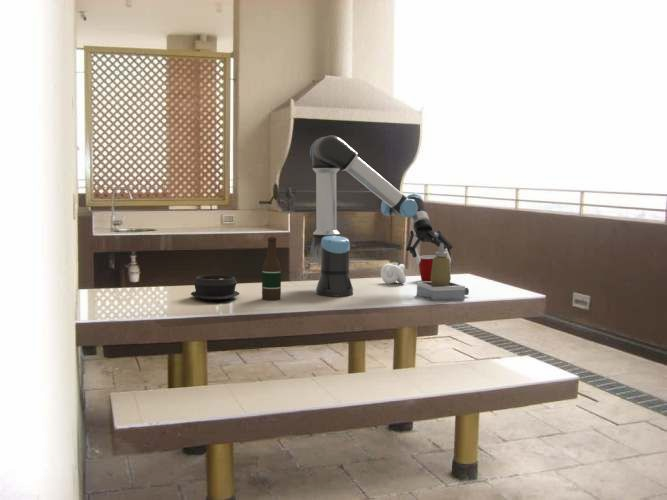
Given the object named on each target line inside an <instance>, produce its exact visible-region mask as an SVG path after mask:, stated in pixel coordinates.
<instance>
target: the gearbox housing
mask: <svg viewBox="0 0 667 500" xmlns="http://www.w3.org/2000/svg"><path fill="white" fill-rule="evenodd" d="M416 282H417V283H416V296H419V297H421V298H424V299H425V300H426V299H427V300H429V301H432V302H438V301H439V302H441V301H465V296H467V295H469V293H470V290H469V288H468V287H466V285H465V286H464V285H463V284H459V283H456V282H452V281H450V282H449V285H448V286H433V285H432V282H431V281H416Z"/></svg>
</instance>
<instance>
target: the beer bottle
mask: <svg viewBox="0 0 667 500" xmlns="http://www.w3.org/2000/svg"><path fill="white" fill-rule="evenodd" d="M266 241H267V251H266V252H267V255H266V258H265V259H264V261H263V264H262V269H261V273H262V275H261V279H262V280H261V282H262V283H261V299H262V300H263V301H279V300H281V296H282V295H281V294H282V291H281V290H282V282H281V281H282V267H281V266H282V265H281V263H280V261H279V259H278V255H277V241H278V239H277V237H275V236H269V237H267V240H266Z"/></svg>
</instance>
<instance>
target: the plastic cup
mask: <svg viewBox="0 0 667 500" xmlns="http://www.w3.org/2000/svg"><path fill="white" fill-rule="evenodd" d="M419 257H420V260H421V261H420V263H419V265H418V267H419V268H418V269H419V273H420V279H421V282H429V281H431V271H432V263H433V258H434V257H437V256H436V254H433V255H432V254H426V255H419Z"/></svg>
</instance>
